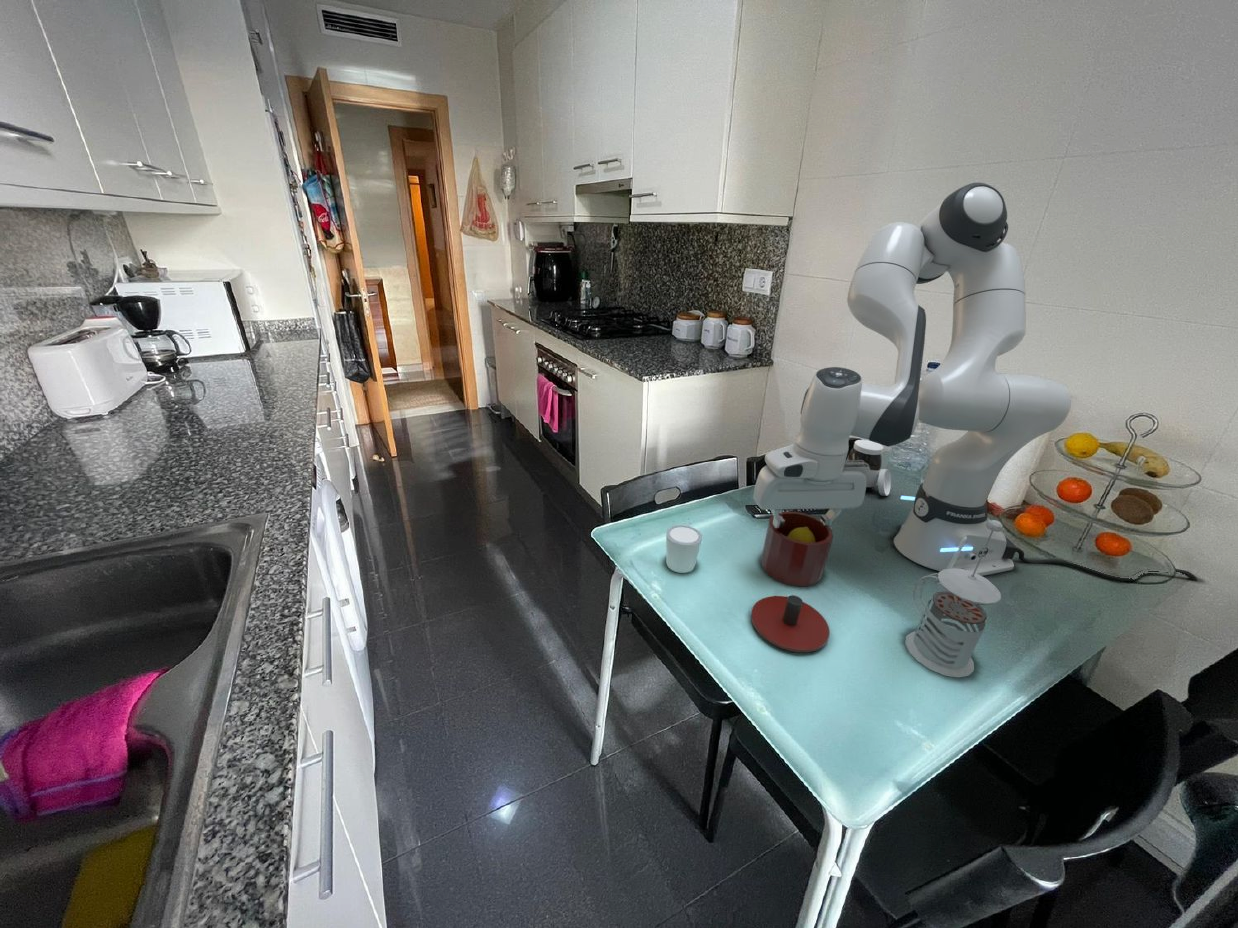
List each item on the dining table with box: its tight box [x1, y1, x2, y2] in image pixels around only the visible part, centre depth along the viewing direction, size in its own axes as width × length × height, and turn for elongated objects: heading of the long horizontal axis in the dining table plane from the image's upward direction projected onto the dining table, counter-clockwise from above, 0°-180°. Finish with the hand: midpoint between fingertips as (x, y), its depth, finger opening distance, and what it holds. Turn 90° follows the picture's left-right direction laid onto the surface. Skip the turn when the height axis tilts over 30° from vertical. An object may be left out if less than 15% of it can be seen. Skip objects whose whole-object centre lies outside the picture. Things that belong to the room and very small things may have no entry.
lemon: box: [787, 527, 815, 543], centre depth 98 cm, size 6×6×8 cm
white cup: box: [665, 524, 703, 574], centre depth 97 cm, size 7×7×7 cm
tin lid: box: [750, 594, 830, 653], centre depth 83 cm, size 13×13×6 cm
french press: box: [904, 519, 1004, 679], centre depth 76 cm, size 10×12×25 cm
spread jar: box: [846, 439, 892, 497], centre depth 130 cm, size 12×11×12 cm
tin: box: [760, 511, 834, 587], centre depth 97 cm, size 12×12×10 cm
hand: (801, 525), depth 95 cm, fingers open, 8 cm apart
